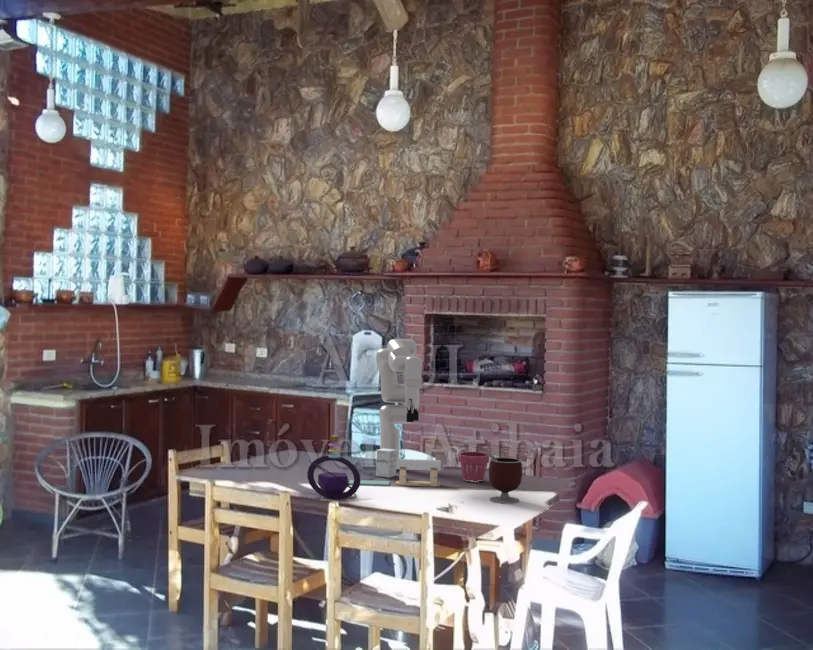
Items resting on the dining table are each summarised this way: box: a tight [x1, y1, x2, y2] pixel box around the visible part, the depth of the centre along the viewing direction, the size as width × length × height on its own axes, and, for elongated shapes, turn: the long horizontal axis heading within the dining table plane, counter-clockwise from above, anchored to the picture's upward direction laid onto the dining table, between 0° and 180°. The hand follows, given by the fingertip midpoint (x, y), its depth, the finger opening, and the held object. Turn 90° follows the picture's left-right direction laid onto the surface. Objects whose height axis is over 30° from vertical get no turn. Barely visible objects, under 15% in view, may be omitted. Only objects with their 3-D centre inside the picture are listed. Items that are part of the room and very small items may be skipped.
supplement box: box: [375, 448, 397, 479], centre depth 418 cm, size 7×7×13 cm
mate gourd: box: [485, 452, 523, 505], centre depth 367 cm, size 16×14×20 cm
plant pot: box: [458, 451, 490, 481], centre depth 411 cm, size 14×14×13 cm
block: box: [396, 458, 442, 471], centre depth 398 cm, size 20×4×4 cm, turn 90°
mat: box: [348, 479, 391, 487], centre depth 397 cm, size 8×18×1 cm, turn 90°
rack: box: [395, 467, 441, 487], centre depth 398 cm, size 6×20×8 cm, turn 90°
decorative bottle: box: [307, 434, 361, 500], centre depth 369 cm, size 22×21×25 cm
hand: (412, 421), depth 402 cm, fingers open, 9 cm apart
